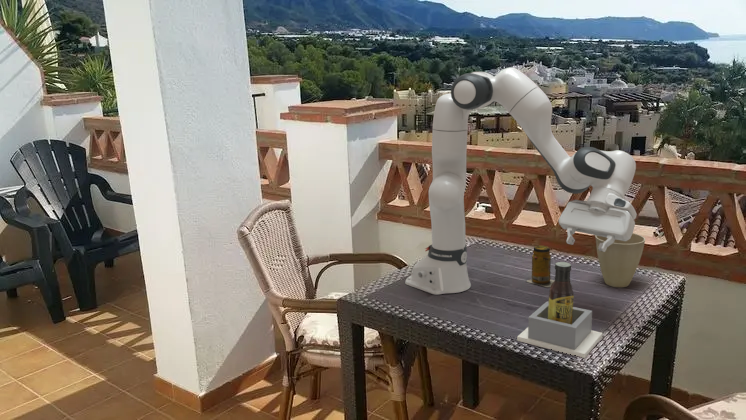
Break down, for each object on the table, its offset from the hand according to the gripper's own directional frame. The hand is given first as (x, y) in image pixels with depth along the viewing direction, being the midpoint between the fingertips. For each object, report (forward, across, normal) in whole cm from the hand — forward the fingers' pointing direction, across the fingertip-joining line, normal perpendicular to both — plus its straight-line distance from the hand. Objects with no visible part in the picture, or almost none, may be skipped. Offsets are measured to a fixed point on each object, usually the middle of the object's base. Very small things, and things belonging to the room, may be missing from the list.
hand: (584, 246), depth 160 cm
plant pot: (-6, -6, +41) cm, 42 cm away
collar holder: (+25, +1, +6) cm, 26 cm away
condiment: (+4, -25, +30) cm, 39 cm away
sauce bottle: (+25, +1, +5) cm, 25 cm away
